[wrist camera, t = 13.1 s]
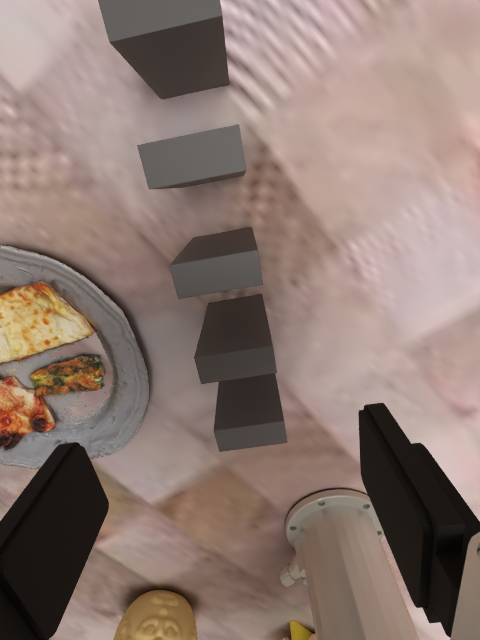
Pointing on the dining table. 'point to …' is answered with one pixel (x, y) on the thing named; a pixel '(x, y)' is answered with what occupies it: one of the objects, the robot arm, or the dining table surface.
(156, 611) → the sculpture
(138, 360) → the food plate
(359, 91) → the dining table surface
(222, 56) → the domino
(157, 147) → the domino
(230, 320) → the domino
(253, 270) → the domino
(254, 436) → the domino
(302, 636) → the hamburger
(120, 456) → the dining table surface
